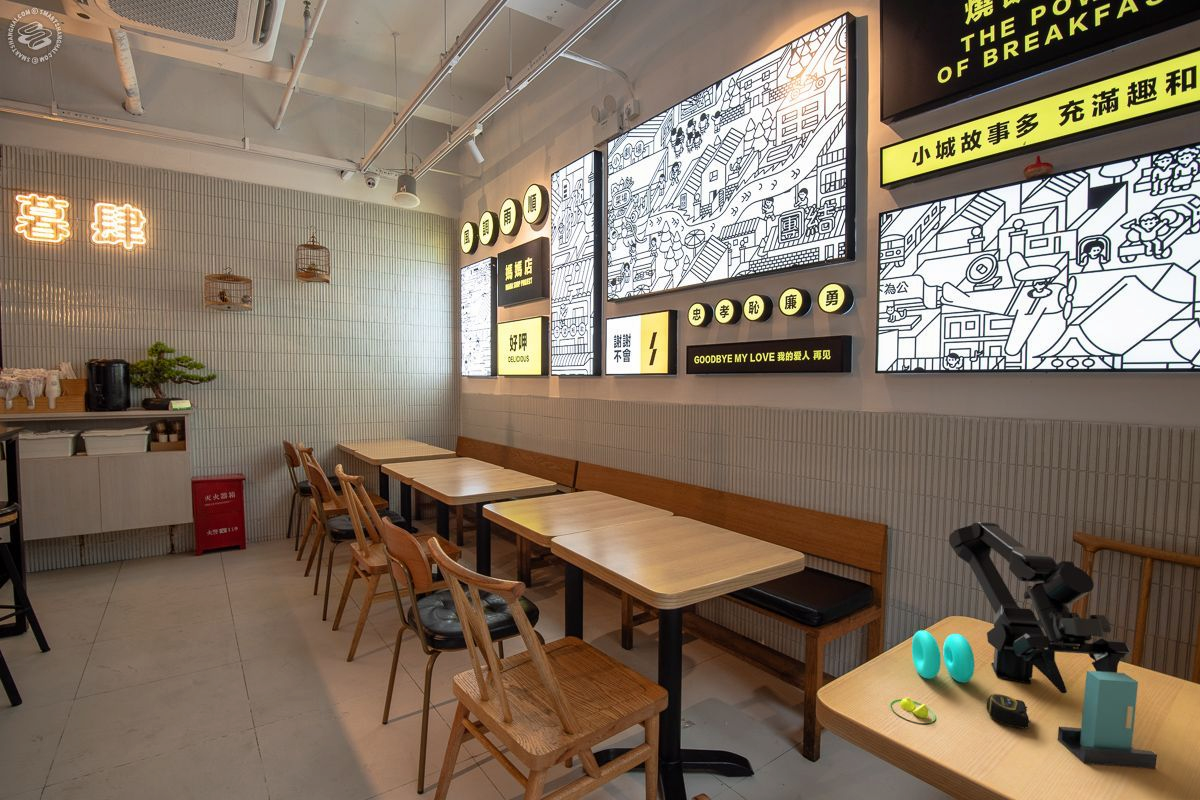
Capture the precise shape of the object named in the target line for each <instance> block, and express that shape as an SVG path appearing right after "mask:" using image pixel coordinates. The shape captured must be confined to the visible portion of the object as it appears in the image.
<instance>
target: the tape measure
mask: <svg viewBox="0 0 1200 800" xmlns="http://www.w3.org/2000/svg"><path fill="white" fill-rule="evenodd" d="M985 704H986V705H985V709H986V712H987V714H988V715H989V716H990V717H991V718H993V720H995V721H996V722H998V723H1000V724H1002V725H1006V726H1010V727H1014V728H1015V727H1016V728H1019V729H1028V728H1029V725H1030V719H1029V718H1030V717H1029V715H1028V714H1027V712H1028V711H1027V710H1028V709H1027V708H1028V706H1026V702H1025V701H1023V700H1020V699H1015V698H1012V696H1011V697H1010V696H1008V695H1005V694H1000V693H998V694H997V693H993V694H990V695H989V696H988V697H987V699H986V703H985Z"/></svg>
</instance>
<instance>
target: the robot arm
mask: <svg viewBox="0 0 1200 800" xmlns="http://www.w3.org/2000/svg"><path fill="white" fill-rule="evenodd" d="M948 542H949V545H950V547H951V548H952V550H953V552H954V553H955V554H956V555H957V557H958V558H960V559H961V560H963V561H964V562H965V563H968V565H969V567H970V568H971V569H972V571H973V574H974V575H975V577H976V579H977V582H978V583H979V584H980V587H981V589H982V590H983V593H984V594H985V596H986V598H987V600H988V602H989V605H991V607H992V609H993V611H994V614H995V616H994V620H993V628H991V629H989V630H988V631H987V632H986V636H987V637H986V638H987V643H988V644H990V645H991V646H992V647H994V652H993V654H994V655H993V662H991V663H990V665H991V667H992V669H993V672H994V674H995V676H996V677H997V678H999V679H1003V680H1004V679H1005V680H1010V681H1015V682H1019V683H1025V684H1028V685H1031V684H1032V680H1031V679H1032V678H1033V673H1034V671H1033V669H1034V667H1035V668H1036V669H1037V670H1038V671H1039V672H1041V673H1042V675H1044V676H1045V678H1047V679H1048V680H1049V682H1050V683H1051V684H1052V685H1053V686H1054V687H1055V688H1056V689H1057V690H1058V691H1059V692H1060V693H1061V694H1067V692H1068V691H1067V687H1066V685H1065V684H1066V683H1065V681H1064V679H1063V677H1062V674H1061V672H1060V669H1059V668H1058V665H1057V662H1056V653H1057V652H1058V653H1072V654H1084V655H1085V654H1086V655H1087V654H1088V655H1089V658H1091V659H1093V661H1092V662H1091V664H1092V666H1093V668H1094V671H1100V672H1115V673H1118V667H1119V666H1118V665H1119V663H1120V661H1123V660H1125V658H1126V657H1127V656H1129V655H1131V654H1132V653H1131V650H1130V649H1129V647H1128V645H1127V643H1126V642H1125V641H1123V640H1122V639H1119V638H1105V634H1104V633H1109V634H1110V633H1111V631H1112V627H1111V624H1110V621H1109V620H1108V618H1107V617H1106V615H1105V614H1090V615H1089V618H1081V617H1080V615H1079V614H1078V612H1072V611H1071V609H1070V606H1069V604H1073V603H1075V602H1076V601H1078V600H1080V599H1081V598H1082V597H1085V596H1086V595H1087V594H1089V593H1090V592H1091V591H1092V590H1093V589H1094V586H1095V584H1094V581H1093V579H1092V577H1091V576H1089V574H1088V573H1087V572H1086V571H1084V570H1083V569H1081V568H1080V567H1077V566H1076V565H1075V564H1074V562H1073V561H1072V560H1071V561H1070V560H1061V561H1060V562H1059V563H1057V562H1056V561H1055V559H1054V558H1053V557H1052V556H1050V555H1048V554H1045V553H1044V552H1041V551H1038V550H1035V549H1031V548H1028V547H1026V546H1024V545H1023V544H1022V543H1021V542H1019V541H1018V540H1016V539H1015V538H1014V537H1013V536H1011V535H1010V534H1009V533H1007V532H1006V531H1005V530H1003V529H1002V528H1001V527H1000V525H999V524H997V523H995V522H992V521H991V522H987V521H976V522H973V523H972V524H971V525H967V526H964V527H960V528H957V529H954V530H953V532H952V533H950V534H949V537H948ZM992 550H994V551H995V552H996V553H997V554H998V555H999V556H1001V557H1002V558H1003V559H1005V561H1007V563H1008V569H1009V570H1010V572H1011V573H1012V574H1013V575H1014V576H1015V577H1016V579H1018V581H1020V582H1029V583H1030V582H1031V583H1035V584H1034V585H1032V586H1031V585H1027V586H1026V590H1025V592H1024V594H1023V598H1024V599H1025V600H1031V602H1032V604H1033V607H1034V609H1035V610H1036V615H1037V617H1038V618H1039V620H1038V618H1037V617H1036V615H1035V613H1034V611H1033V610H1031V608H1025V607H1024V608H1022V607H1020V605H1018V603H1017V602H1016V600H1015V599H1014V597H1013V595H1012V593H1011V592H1010V589H1009V588H1008V586H1007V584H1006V583H1005V581H1004V579H1003V577H1002V576H1001V574H1000V572H999V570H998V568H997V566H996V565H995V563H994V562H993V560H992V557H991V552H992ZM1042 628H1043V629H1042ZM1093 636H1094V637H1098V638H1099V639H1097V640H1095V641H1094V642H1092V643H1087V642H1086V641H1090V640H1093Z"/></svg>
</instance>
